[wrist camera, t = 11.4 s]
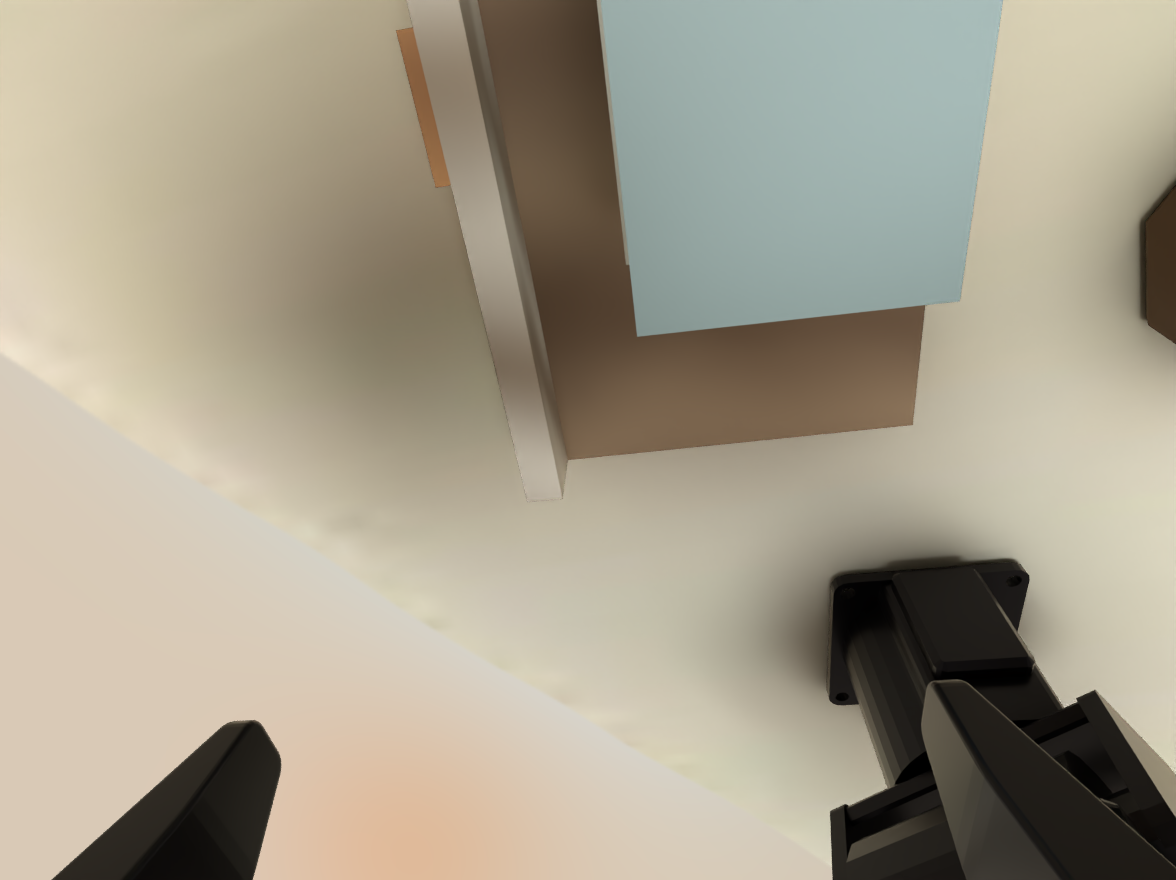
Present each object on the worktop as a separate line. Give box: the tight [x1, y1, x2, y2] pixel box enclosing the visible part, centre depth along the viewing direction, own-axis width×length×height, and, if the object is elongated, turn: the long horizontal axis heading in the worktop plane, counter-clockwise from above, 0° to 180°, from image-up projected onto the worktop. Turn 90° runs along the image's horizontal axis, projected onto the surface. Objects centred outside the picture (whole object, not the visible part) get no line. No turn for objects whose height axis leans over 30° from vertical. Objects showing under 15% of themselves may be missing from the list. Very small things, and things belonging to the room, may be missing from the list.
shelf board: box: [396, 0, 925, 502], centre depth 15 cm, size 20×11×4 cm, turn 9°
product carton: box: [597, 0, 1003, 337], centre depth 12 cm, size 5×6×8 cm
